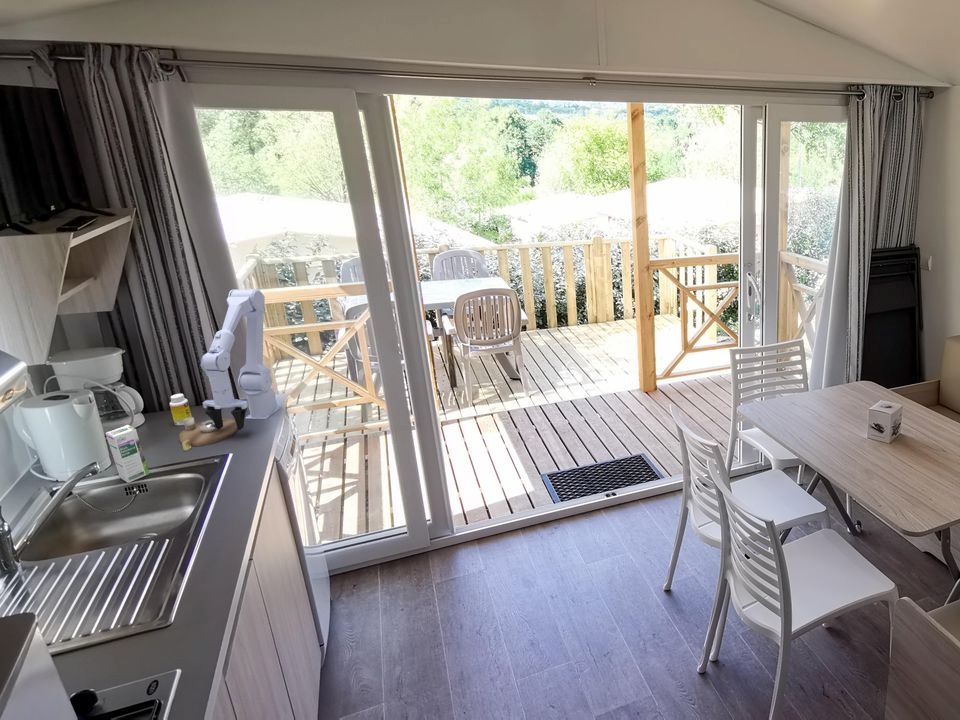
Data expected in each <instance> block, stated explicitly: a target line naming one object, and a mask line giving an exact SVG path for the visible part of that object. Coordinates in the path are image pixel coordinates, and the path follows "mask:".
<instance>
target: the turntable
mask: <svg viewBox="0 0 960 720" xmlns="http://www.w3.org/2000/svg"><path fill="white" fill-rule="evenodd" d="M209 420H212V419H211V418H210V419H207V420H202V421H199V422H196V423H195V417H193V416H192V417H188V418H185V419H184V420H183V421H184V425H183V426H184V429H183V430H181V431H180V433H179V435H178V438H179V441H180V443H181V444H182V442H184V441H185V440H190V443H191V447H202V446H208V445H211V444H215V443H219V442H221V441H224V440H226V439H228V438H230V437H231V436H233V435H234V434H235V433H236V432H237V431H238V428H237V425H236V421H235V419H234V418H227V417H224V418H223V417H222V420H223V427H222V428H220V429H219V430H217V431H215V432H212V433H206V434H204V433H201V431H200V427H199V425H200V424H201V423H203V422H206V421H209Z"/></svg>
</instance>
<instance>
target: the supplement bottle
mask: <svg viewBox="0 0 960 720" xmlns="http://www.w3.org/2000/svg"><path fill="white" fill-rule="evenodd" d="M169 407H170V412H171V414H172V415H171V416H172V418H173V419H172V420H173V423H174V425H175V426H185V425H184V421H183V420H184V419H185V418H188V417H193V415H192V412H191V408H190V405H189V400H188V399H187V398H185V395H184V394H183V393H175V394H173V395H171V396H170V402H169Z"/></svg>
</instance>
